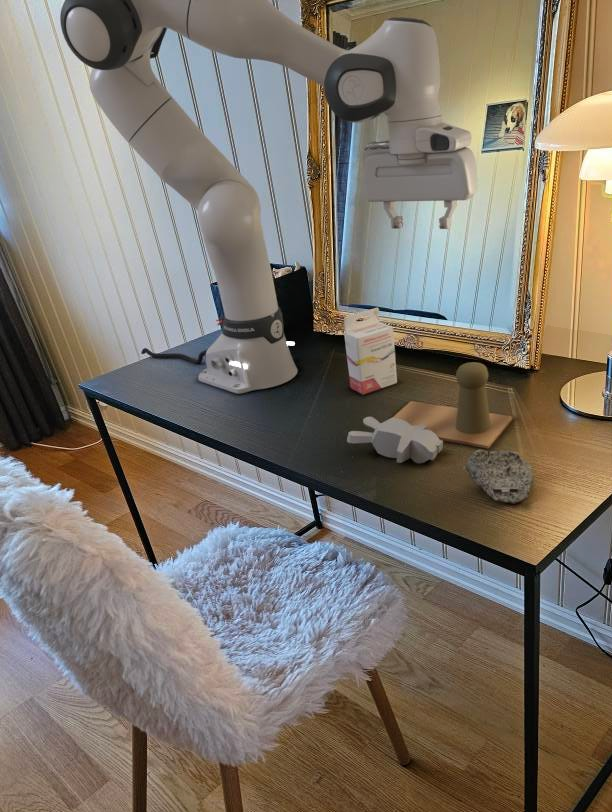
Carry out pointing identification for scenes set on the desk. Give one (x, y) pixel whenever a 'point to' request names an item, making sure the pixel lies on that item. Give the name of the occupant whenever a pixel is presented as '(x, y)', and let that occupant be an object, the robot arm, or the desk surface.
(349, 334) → the ink cartridge box
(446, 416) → the cork mat
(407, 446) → the bunny figurine
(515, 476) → the rock sample
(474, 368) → the pepper shaker
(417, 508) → the desk surface
